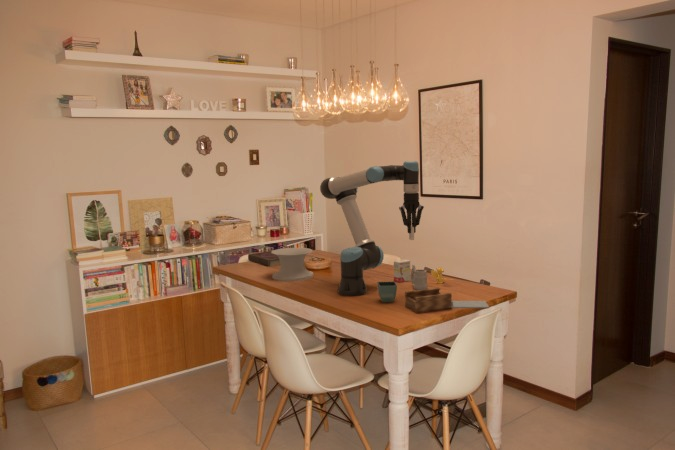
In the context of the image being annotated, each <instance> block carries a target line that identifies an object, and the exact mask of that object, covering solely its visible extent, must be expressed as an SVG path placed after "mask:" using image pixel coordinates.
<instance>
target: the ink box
mask: <svg viewBox="0 0 675 450" xmlns="http://www.w3.org/2000/svg"><path fill="white" fill-rule="evenodd" d="M410 281H411V260H409V259H406V258H405V259H398V260H394V261H393V282H395V283H405V282H410Z"/></svg>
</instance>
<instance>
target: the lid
mask: <svg viewBox="0 0 675 450" xmlns="http://www.w3.org/2000/svg"><path fill="white" fill-rule="evenodd" d="M489 308H490V306H489V304H488V303H487V301H486V300H452V309H489Z"/></svg>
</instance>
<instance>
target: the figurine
mask: <svg viewBox="0 0 675 450" xmlns="http://www.w3.org/2000/svg"><path fill="white" fill-rule="evenodd" d="M435 269H436V270H433V269H431V270H430V274H431V276H432V277H433V278H435V279H436V281H435V284H443V283H444V281H446V280H448V281H449V280H450V281H451V280H453V281H454V279H452V278H443V273H444V272H445V270H444V268H443V267H442V266H441V267H438V266H435Z"/></svg>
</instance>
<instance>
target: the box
mask: <svg viewBox="0 0 675 450" xmlns="http://www.w3.org/2000/svg"><path fill="white" fill-rule="evenodd" d="M440 290H441V288H439V287H435V288H427V289H425V290H416V289H415V290H407V291H404V296H405V297H404V304H405V305H404V306H405V307H406V308H407V309H409V310H410V311H412V312H414V313H415V314H421V313H422V314H423V313H429V312H430V313H431V312H437V311H444V310H445V311H447V310H452V309H453V308H452V301H453V298H452V295H453V294H452V293H451V292H448V293H441V292H440Z"/></svg>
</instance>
